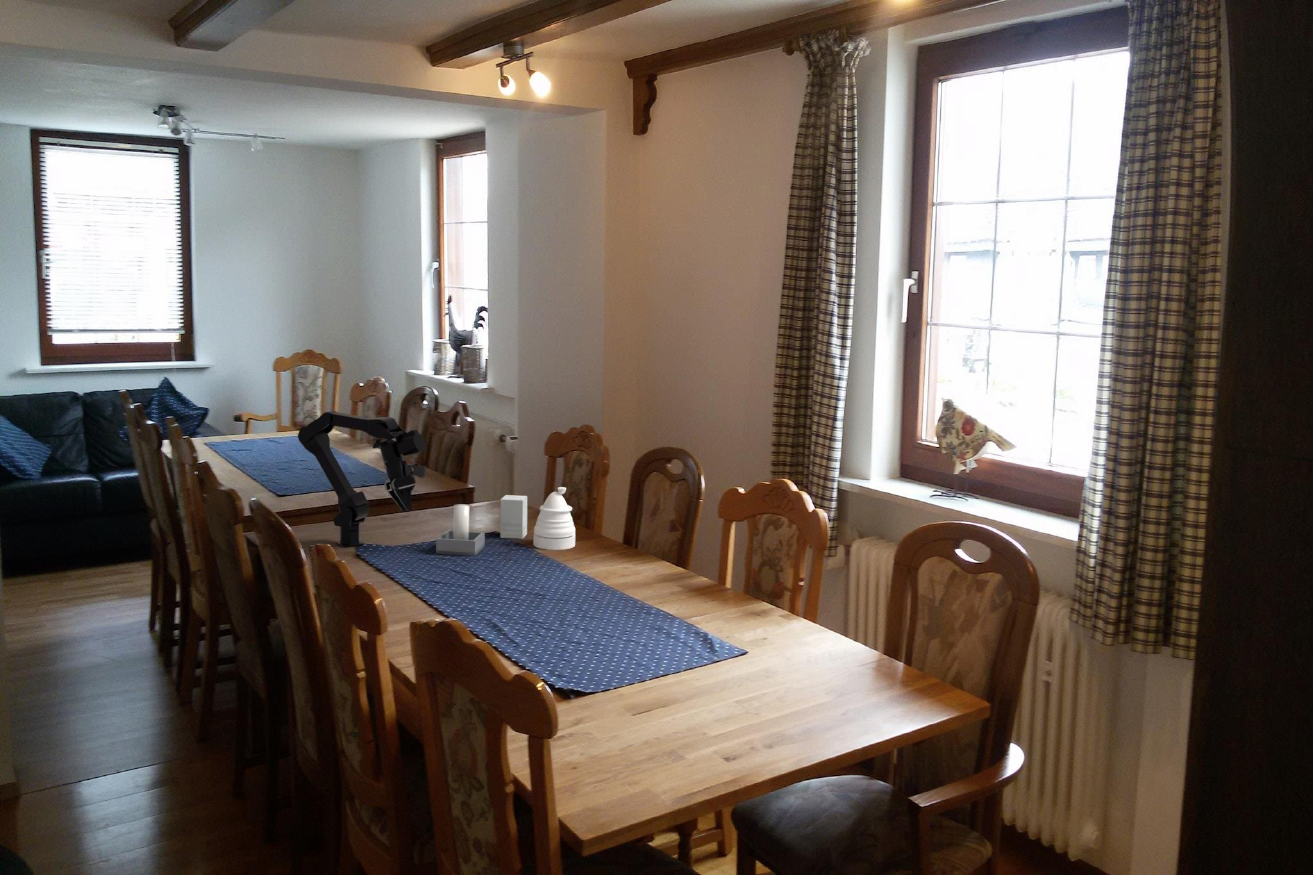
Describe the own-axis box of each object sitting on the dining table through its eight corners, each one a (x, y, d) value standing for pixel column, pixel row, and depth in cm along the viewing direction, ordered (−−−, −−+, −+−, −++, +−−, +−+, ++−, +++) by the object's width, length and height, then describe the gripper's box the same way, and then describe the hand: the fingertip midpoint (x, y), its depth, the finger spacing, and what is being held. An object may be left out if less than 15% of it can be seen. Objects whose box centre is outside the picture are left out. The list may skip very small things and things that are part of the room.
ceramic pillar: (449, 547, 313) (450, 506, 312) (458, 544, 318) (459, 503, 316) (462, 549, 311) (463, 508, 310) (471, 546, 316) (472, 505, 314)
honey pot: (578, 541, 331) (579, 485, 329) (571, 551, 319) (572, 492, 316) (538, 538, 333) (539, 482, 330) (529, 548, 320) (530, 490, 318)
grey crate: (436, 553, 309) (436, 538, 309) (447, 544, 321) (447, 530, 320) (474, 556, 308) (475, 541, 308) (484, 546, 320) (484, 532, 319)
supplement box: (527, 534, 338) (528, 495, 337) (522, 539, 331) (523, 500, 329) (505, 532, 339) (505, 494, 337) (499, 538, 332) (500, 498, 330)
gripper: (425, 450, 303) (439, 503, 304) (414, 454, 320) (428, 504, 321) (387, 460, 299) (401, 513, 299) (378, 463, 316) (392, 514, 317)
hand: (407, 511), depth 309 cm, fingers open, 9 cm apart
